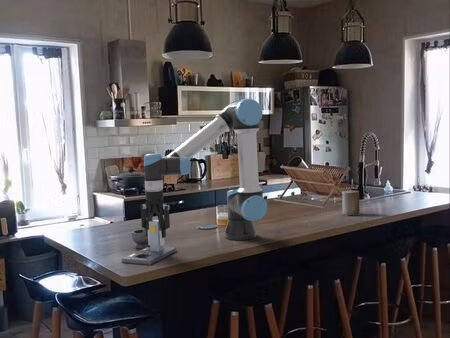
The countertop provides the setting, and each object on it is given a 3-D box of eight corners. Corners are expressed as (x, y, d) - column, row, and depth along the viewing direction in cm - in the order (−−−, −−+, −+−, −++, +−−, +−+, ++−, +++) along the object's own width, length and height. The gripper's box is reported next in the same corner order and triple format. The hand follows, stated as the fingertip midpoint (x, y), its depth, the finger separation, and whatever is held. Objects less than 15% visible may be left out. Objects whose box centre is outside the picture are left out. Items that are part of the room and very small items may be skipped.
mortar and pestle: (128, 246, 220) (127, 220, 219) (146, 242, 226) (145, 217, 225) (141, 250, 212) (140, 223, 211) (159, 246, 218) (158, 220, 217)
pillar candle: (363, 214, 281) (362, 188, 280) (351, 216, 276) (351, 190, 275) (350, 212, 289) (349, 187, 288) (338, 214, 284) (338, 189, 283)
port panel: (150, 249, 213) (149, 245, 213) (176, 251, 209) (176, 247, 208) (121, 262, 193) (121, 258, 193) (150, 264, 188) (150, 260, 188)
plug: (163, 252, 207) (161, 220, 206) (157, 255, 203) (156, 222, 201) (155, 251, 208) (153, 219, 207) (149, 254, 204) (147, 221, 203)
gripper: (130, 191, 204) (133, 245, 205) (168, 191, 197) (171, 248, 199) (140, 188, 211) (142, 241, 212) (177, 189, 204) (179, 243, 206)
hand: (156, 244), depth 206 cm, fingers open, 5 cm apart
